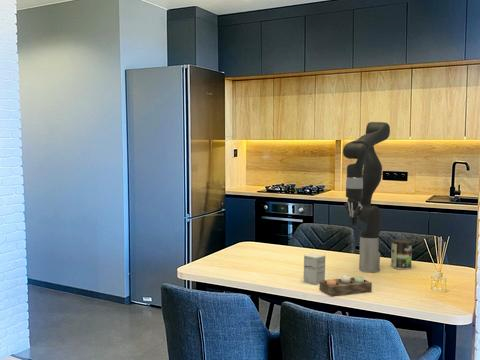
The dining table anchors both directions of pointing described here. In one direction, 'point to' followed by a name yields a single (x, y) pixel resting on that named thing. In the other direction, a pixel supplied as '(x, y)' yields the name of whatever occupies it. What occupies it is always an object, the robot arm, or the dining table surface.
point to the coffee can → (401, 254)
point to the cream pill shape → (345, 279)
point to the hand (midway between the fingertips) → (353, 224)
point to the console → (345, 287)
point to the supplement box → (314, 268)
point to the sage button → (359, 279)
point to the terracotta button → (331, 282)
